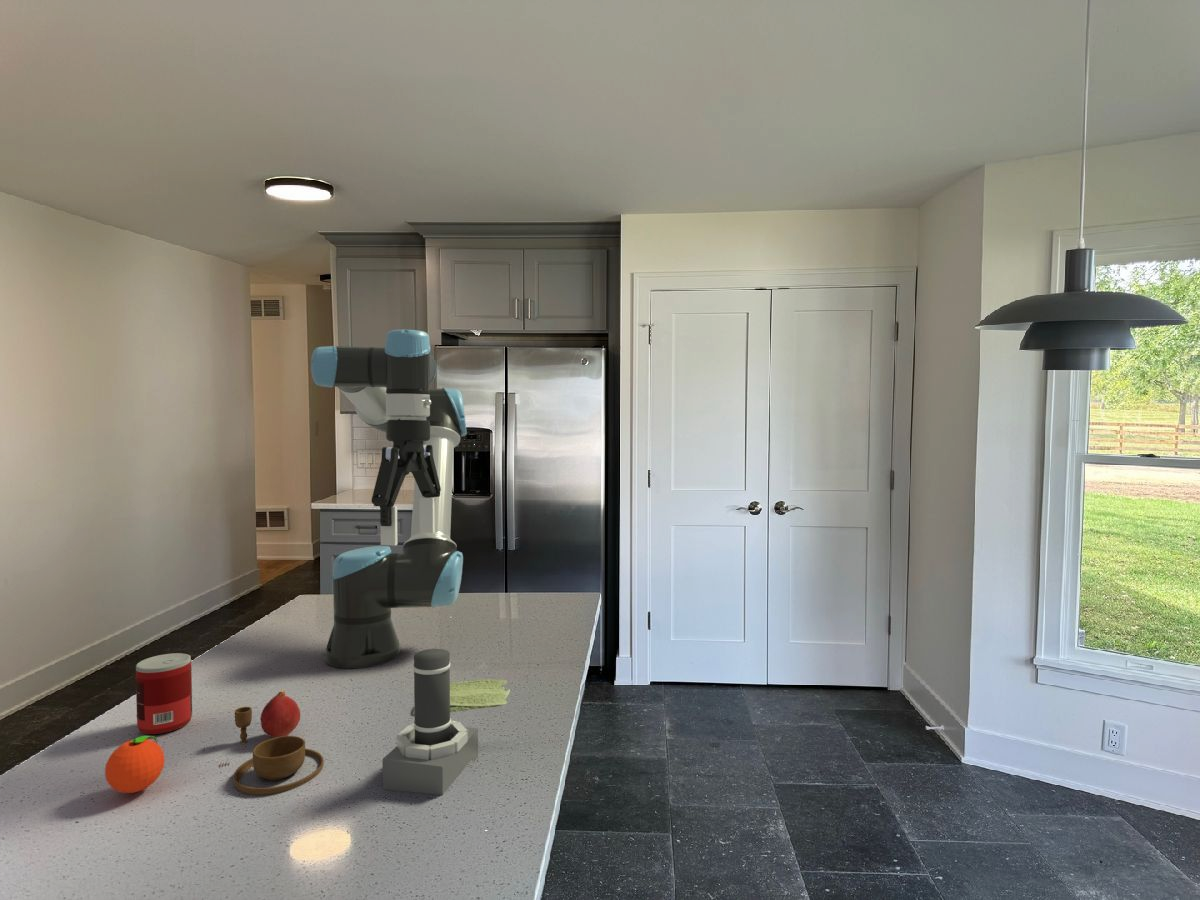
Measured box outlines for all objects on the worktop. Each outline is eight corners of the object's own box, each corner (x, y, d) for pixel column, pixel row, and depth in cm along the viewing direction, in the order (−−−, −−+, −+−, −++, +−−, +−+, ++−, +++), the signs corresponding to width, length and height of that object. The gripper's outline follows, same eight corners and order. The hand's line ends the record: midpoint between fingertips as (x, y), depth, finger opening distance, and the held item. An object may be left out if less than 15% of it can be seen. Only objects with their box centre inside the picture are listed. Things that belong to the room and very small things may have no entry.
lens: (427, 755, 97) (426, 663, 96) (407, 743, 100) (406, 654, 100) (458, 742, 101) (457, 654, 100) (437, 731, 104) (437, 646, 104)
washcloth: (515, 718, 122) (515, 700, 122) (411, 727, 118) (411, 708, 118) (509, 689, 134) (509, 673, 134) (415, 697, 131) (415, 680, 131)
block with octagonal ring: (444, 803, 94) (443, 756, 94) (381, 794, 96) (381, 748, 96) (479, 760, 105) (479, 719, 105) (422, 753, 108) (422, 713, 107)
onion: (262, 751, 108) (261, 700, 108) (259, 736, 113) (258, 688, 113) (302, 742, 111) (302, 693, 111) (297, 728, 116) (297, 681, 116)
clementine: (134, 772, 101) (133, 725, 101) (180, 773, 101) (179, 725, 101) (92, 802, 94) (91, 751, 93) (143, 803, 93) (141, 752, 93)
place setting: (199, 810, 93) (198, 767, 92) (232, 743, 112) (231, 707, 112) (339, 791, 98) (338, 750, 98) (347, 730, 117) (347, 695, 117)
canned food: (202, 718, 120) (201, 655, 119) (160, 738, 112) (158, 671, 112) (170, 712, 122) (168, 650, 122) (126, 731, 115) (124, 665, 114)
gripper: (390, 418, 109) (391, 552, 110) (458, 419, 134) (458, 528, 134) (348, 418, 111) (349, 549, 112) (422, 418, 135) (423, 526, 136)
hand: (409, 538), depth 123 cm, fingers open, 13 cm apart
